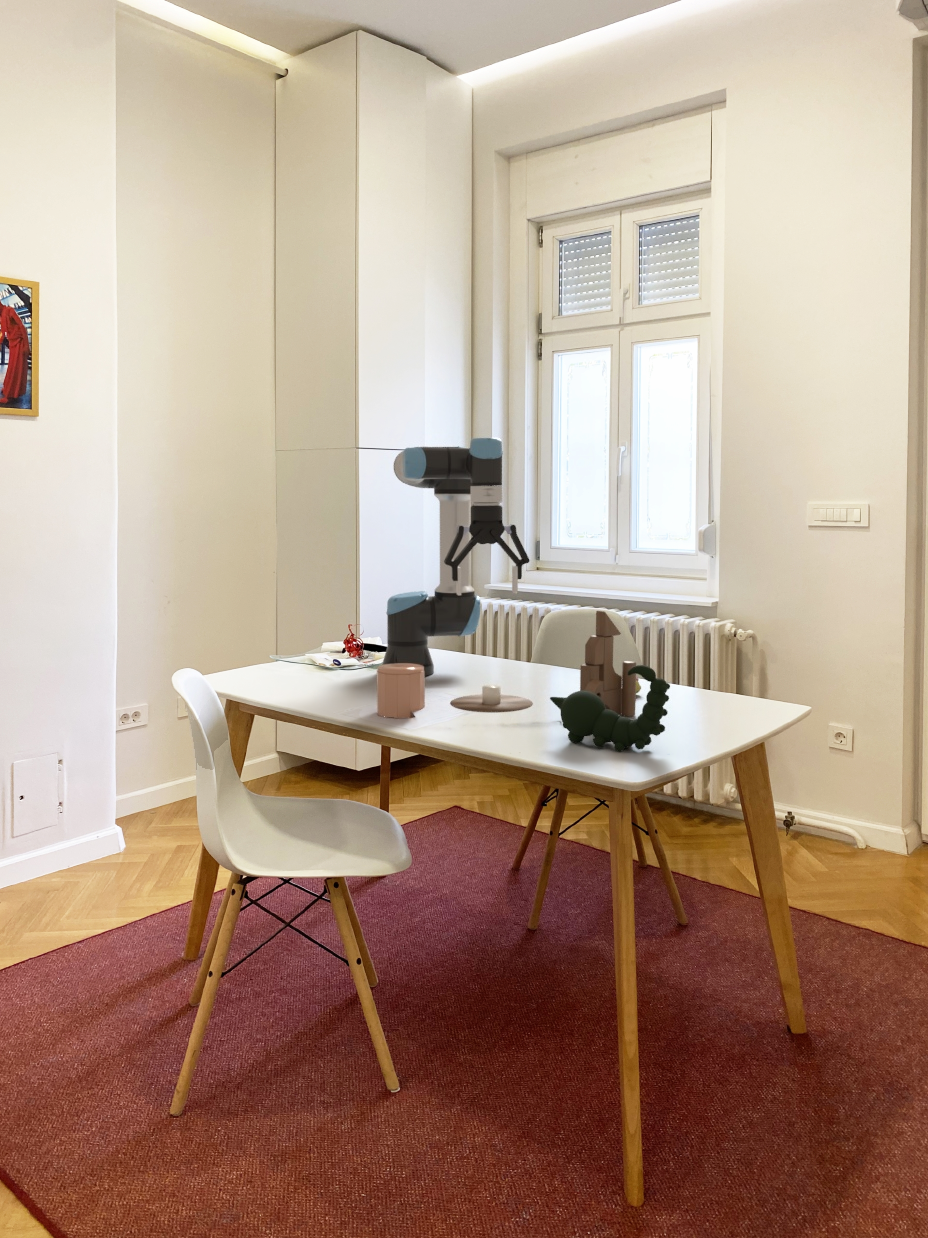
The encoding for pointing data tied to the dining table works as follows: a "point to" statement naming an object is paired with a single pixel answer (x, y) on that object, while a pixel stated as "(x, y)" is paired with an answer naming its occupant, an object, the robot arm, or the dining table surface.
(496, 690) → the ivory rounded cylinder
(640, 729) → the toy figurine
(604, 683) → the wooden toy
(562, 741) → the dining table surface
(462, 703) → the walnut board
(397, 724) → the dining table surface
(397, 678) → the tan domed cylinder
